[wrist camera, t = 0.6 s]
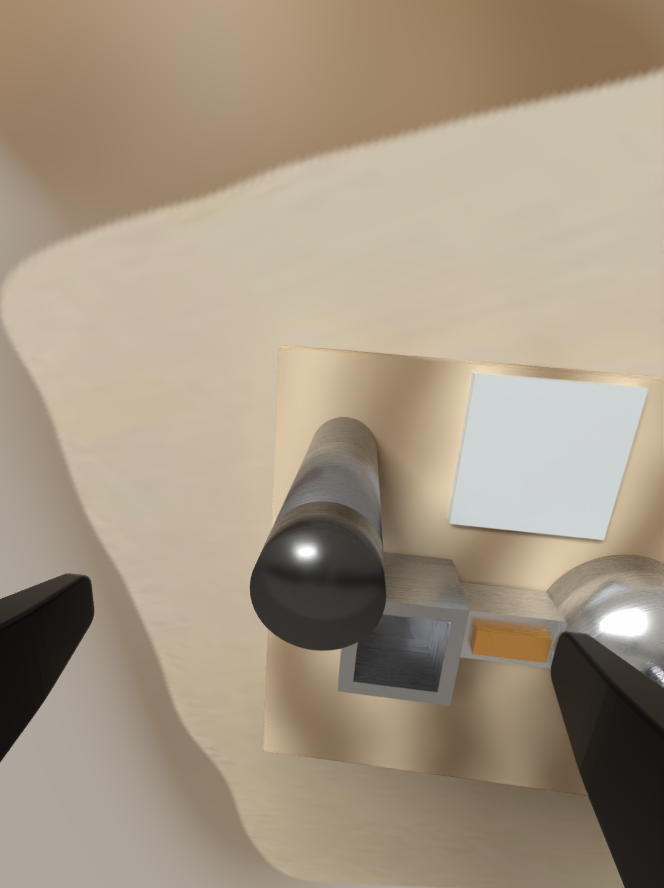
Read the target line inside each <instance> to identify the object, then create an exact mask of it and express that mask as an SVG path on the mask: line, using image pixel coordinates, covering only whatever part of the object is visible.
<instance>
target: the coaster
mask: <svg viewBox="0 0 664 888" xmlns="http://www.w3.org/2000/svg"><path fill="white" fill-rule="evenodd" d="M647 392H648V388H644V387H640V386H631V385H620V384H608V383H596V382H584V381H573V380H561V379H549V378H537V377H526V376H514V375H502V374H490V373H478V372H472V376H471V382H470V387H469V393H468V399H467V405H466V411H465V417H464V422H463V428H462V434H461V440H460V446H459V452H458V457H457V463H456V469H455V475H454V481H453V487H452V492H451V498H450V504H449V510H448V516H447V518H448V521H449V523H450V524H456V525H466V526H475V527H485V528H494V529H504V530H513V531H523V532H532V533H542V534H551V535H561V536H570V537H580V538H589V539H599V540H604V538H605V534H606V531H607V528H608V524H609V521H610V517H611V514H612V511H613V507H614V504H615V501H616V497H617V494H618V490H619V487H620V484H621V480H622V477H623V474H624V470H625V467H626V463H627V460H628V457H629V453H630V450H631V447H632V443H633V440H634V436H635V433H636V430H637V426H638V423H639V419H640V416H641V413H642V409H643V406H644V403H645V399H646V396H647Z"/></svg>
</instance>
